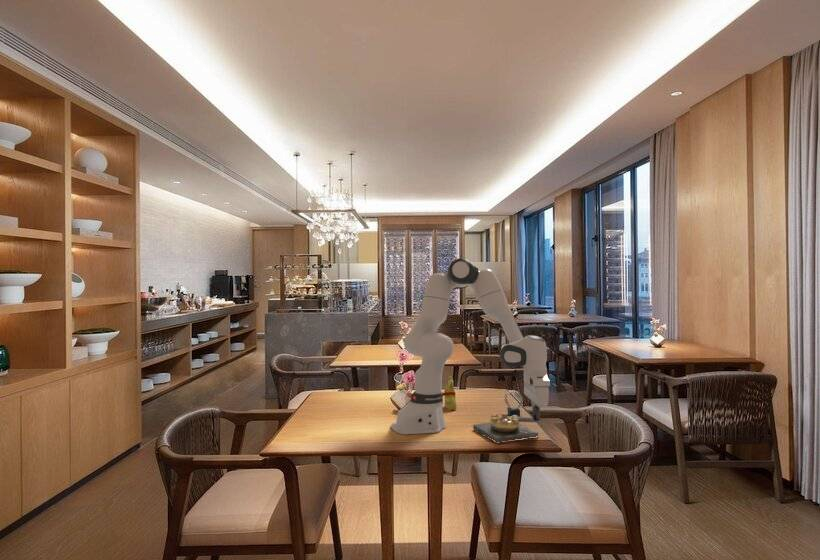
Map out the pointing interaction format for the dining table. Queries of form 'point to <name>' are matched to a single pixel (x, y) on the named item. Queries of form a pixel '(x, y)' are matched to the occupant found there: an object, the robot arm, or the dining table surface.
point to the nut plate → (504, 436)
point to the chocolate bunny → (450, 395)
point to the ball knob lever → (512, 421)
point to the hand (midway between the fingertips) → (535, 412)
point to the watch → (514, 410)
